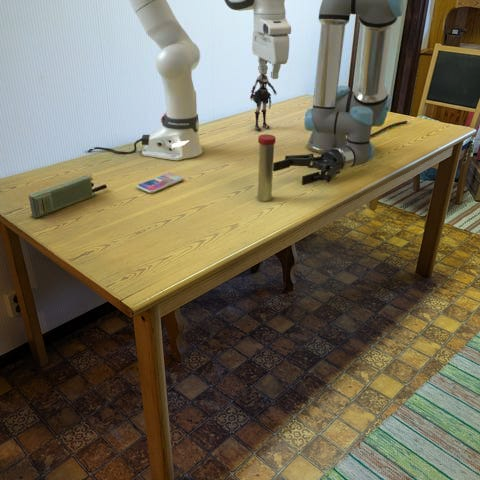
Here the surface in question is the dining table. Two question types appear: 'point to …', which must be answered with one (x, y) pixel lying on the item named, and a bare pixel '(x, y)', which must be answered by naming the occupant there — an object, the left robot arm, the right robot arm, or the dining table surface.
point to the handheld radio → (62, 195)
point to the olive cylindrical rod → (265, 172)
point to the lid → (266, 139)
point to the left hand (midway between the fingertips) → (268, 75)
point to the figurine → (262, 97)
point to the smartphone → (159, 182)
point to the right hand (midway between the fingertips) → (287, 173)
